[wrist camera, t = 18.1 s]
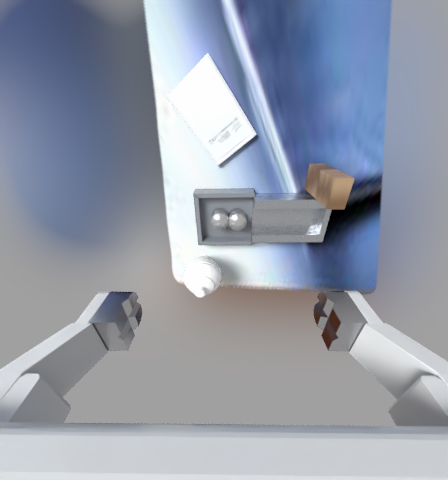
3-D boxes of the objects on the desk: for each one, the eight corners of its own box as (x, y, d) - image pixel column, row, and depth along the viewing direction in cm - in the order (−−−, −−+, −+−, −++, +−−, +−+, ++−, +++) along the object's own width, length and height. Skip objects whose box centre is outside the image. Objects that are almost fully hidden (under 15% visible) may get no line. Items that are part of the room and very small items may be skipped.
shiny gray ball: (211, 207, 39) (210, 213, 37) (228, 208, 39) (228, 214, 37) (211, 222, 41) (210, 229, 38) (227, 223, 41) (228, 230, 38)
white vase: (184, 245, 45) (171, 283, 34) (216, 237, 44) (213, 274, 33) (195, 270, 49) (187, 311, 38) (226, 264, 47) (225, 304, 37)
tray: (195, 189, 38) (193, 193, 36) (253, 188, 38) (254, 192, 36) (199, 238, 44) (198, 245, 42) (250, 238, 44) (251, 244, 41)
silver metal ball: (226, 209, 39) (227, 216, 37) (244, 206, 39) (245, 212, 37) (230, 224, 41) (230, 232, 39) (246, 222, 41) (247, 229, 38)
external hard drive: (208, 55, 28) (255, 133, 34) (168, 98, 31) (217, 164, 36) (208, 52, 27) (257, 134, 32) (165, 97, 30) (217, 166, 35)
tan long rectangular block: (309, 163, 35) (335, 178, 27) (323, 163, 35) (354, 178, 27) (304, 188, 38) (327, 209, 29) (317, 188, 38) (344, 209, 29)
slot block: (252, 193, 38) (255, 200, 35) (326, 192, 38) (334, 199, 35) (250, 234, 43) (252, 242, 40) (315, 233, 43) (322, 242, 40)
